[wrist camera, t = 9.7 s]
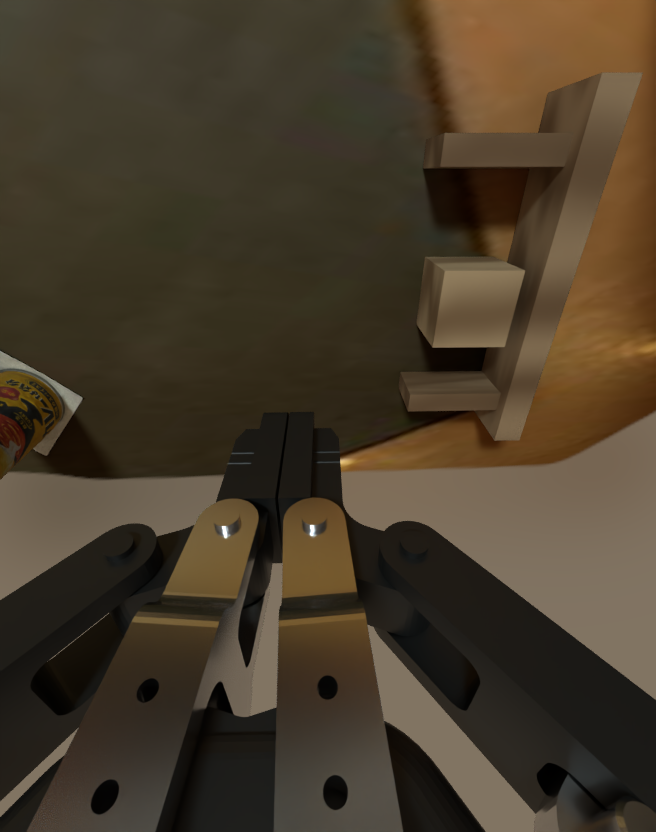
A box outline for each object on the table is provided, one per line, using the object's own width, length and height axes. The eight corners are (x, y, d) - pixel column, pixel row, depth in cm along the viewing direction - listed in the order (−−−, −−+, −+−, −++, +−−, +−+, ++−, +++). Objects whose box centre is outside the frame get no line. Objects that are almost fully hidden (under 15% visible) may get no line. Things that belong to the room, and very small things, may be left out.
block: (424, 256, 27) (444, 270, 23) (492, 256, 27) (525, 270, 23) (416, 323, 30) (432, 347, 26) (478, 323, 30) (504, 347, 26)
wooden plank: (431, 92, 22) (458, 72, 18) (581, 92, 22) (642, 72, 18) (396, 409, 34) (407, 441, 30) (494, 407, 34) (519, 440, 30)
